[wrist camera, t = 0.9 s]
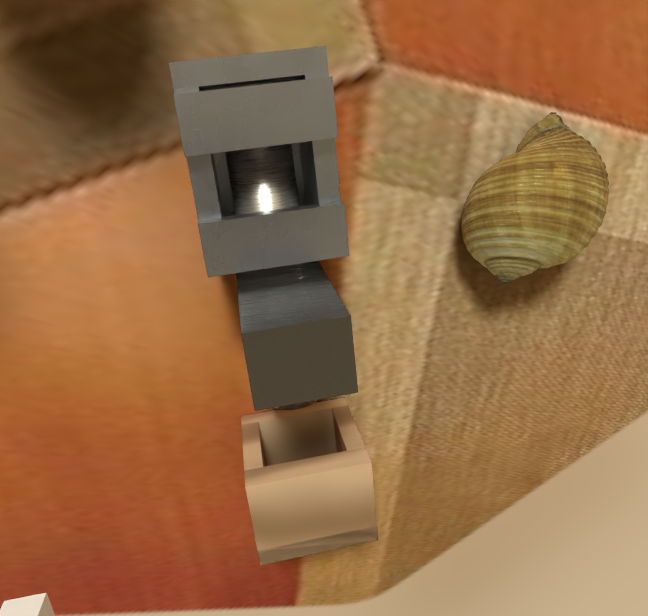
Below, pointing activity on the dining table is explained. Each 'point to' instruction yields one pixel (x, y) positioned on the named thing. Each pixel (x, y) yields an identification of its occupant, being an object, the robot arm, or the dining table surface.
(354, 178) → the dining table surface
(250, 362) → the sliding bolt
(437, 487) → the dining table surface
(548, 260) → the seashell
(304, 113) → the sleeve
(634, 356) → the dining table surface
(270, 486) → the socket
